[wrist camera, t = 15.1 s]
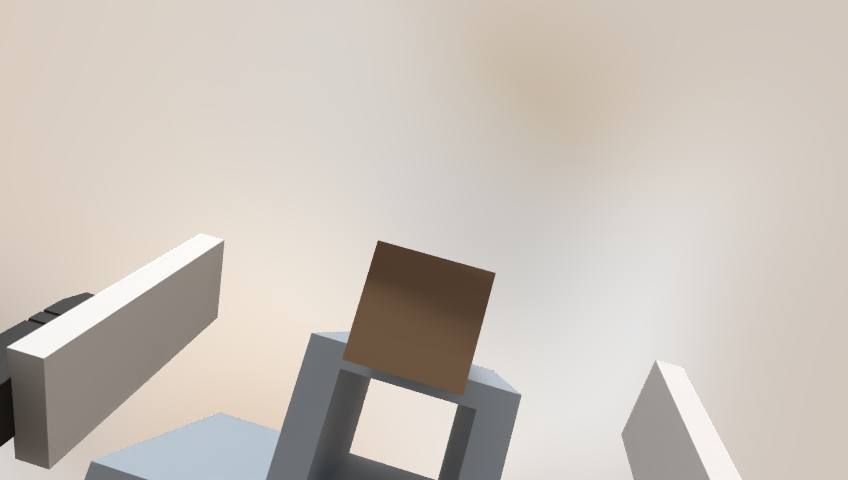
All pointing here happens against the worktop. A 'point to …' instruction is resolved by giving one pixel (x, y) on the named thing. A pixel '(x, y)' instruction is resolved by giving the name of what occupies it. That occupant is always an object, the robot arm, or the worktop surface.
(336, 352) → the light blue upright pillar
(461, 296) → the rod
